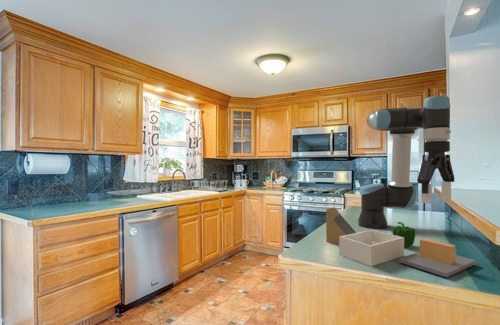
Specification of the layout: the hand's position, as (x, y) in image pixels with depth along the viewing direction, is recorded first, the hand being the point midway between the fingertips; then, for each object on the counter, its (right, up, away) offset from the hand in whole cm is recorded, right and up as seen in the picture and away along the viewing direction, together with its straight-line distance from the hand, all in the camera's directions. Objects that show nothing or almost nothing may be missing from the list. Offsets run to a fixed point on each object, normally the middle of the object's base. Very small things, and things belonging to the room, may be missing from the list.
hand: (436, 201), depth 95 cm
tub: (-18, -22, +10) cm, 31 cm away
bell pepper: (+1, -22, +21) cm, 31 cm away
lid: (0, -23, 0) cm, 23 cm away
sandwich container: (-23, -23, +25) cm, 41 cm away
